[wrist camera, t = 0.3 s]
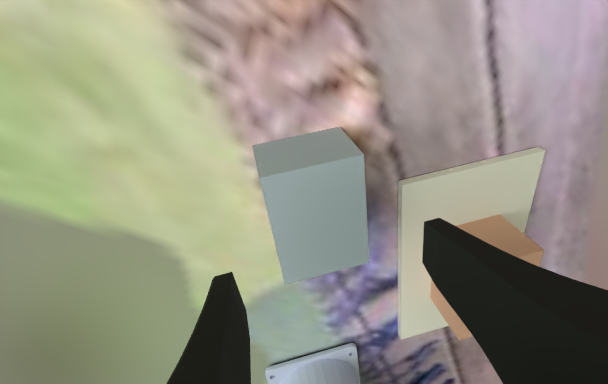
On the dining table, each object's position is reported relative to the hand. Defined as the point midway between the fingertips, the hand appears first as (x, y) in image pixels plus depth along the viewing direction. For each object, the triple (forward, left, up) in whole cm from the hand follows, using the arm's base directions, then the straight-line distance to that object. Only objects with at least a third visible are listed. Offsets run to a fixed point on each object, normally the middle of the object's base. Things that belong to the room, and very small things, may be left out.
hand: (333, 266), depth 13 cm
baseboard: (-11, -12, -9) cm, 18 cm away
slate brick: (-2, -1, -9) cm, 9 cm away
